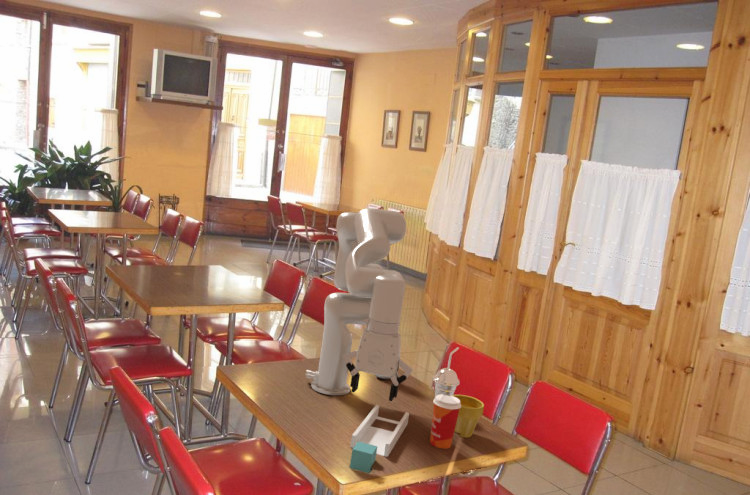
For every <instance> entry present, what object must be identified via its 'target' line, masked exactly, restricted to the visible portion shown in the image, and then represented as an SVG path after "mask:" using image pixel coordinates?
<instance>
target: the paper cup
mask: <svg viewBox="0 0 750 495" xmlns="http://www.w3.org/2000/svg"><path fill="white" fill-rule="evenodd" d="M432 402H433V410H432V418H431V430H430V438H429V439H430V440H429V442H430V445H432V446H433V447H435V448H439V449H450V448H451V447H452V443H453V438H454V434H455V432H454V431H455V427H456V422H457V418H458V414H459V409H460V408H461V404H460V400H459V399H458V398H456V397H454V396H449V395H443V394H440V395H437V396H436V397H435V396H434V399H433V400H432Z"/></svg>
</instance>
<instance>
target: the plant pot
mask: <svg viewBox="0 0 750 495" xmlns="http://www.w3.org/2000/svg"><path fill="white" fill-rule="evenodd" d="M452 396H454V397H456V398H458V399H459V400H460V404H461V408H460V409H459V414H458V418H457V422H456V427H455V431H454V433H457V434H459V435H458V437H459V438H471V437H472V436H473V434H474V431H475V428H476V426H477V424H478V421H479V419H481V418H482V416H483V413H484V409H485V404H484V402H482V401H481V400H479V399H478V398H476V397H473V396H469V395H465V394H453V395H452Z"/></svg>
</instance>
